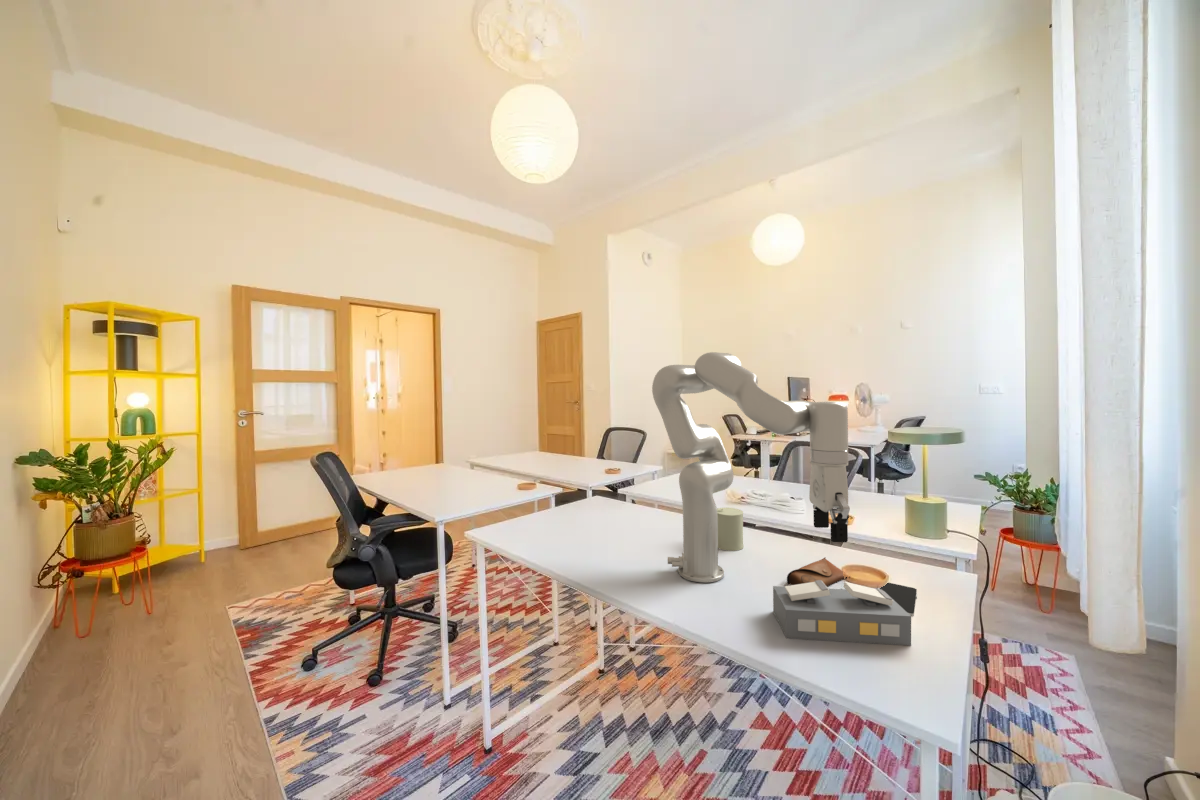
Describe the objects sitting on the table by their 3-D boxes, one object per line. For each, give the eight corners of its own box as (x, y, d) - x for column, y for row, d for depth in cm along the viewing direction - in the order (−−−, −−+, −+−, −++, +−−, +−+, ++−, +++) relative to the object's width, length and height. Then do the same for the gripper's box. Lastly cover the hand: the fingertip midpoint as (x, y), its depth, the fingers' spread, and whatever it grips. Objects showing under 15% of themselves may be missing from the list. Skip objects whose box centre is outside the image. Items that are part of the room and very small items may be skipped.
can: (713, 540, 151) (712, 505, 151) (740, 541, 150) (740, 506, 150) (716, 550, 142) (716, 513, 142) (746, 551, 141) (745, 514, 140)
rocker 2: (851, 596, 93) (853, 589, 93) (843, 586, 98) (844, 580, 98) (891, 605, 92) (893, 599, 92) (881, 595, 97) (883, 589, 97)
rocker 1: (791, 600, 95) (790, 594, 95) (786, 591, 100) (784, 585, 100) (830, 595, 94) (828, 588, 94) (822, 585, 98) (821, 579, 98)
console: (786, 638, 92) (786, 607, 92) (773, 611, 103) (773, 583, 103) (911, 646, 89) (911, 613, 89) (884, 617, 100) (884, 588, 100)
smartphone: (873, 604, 105) (879, 580, 117) (873, 609, 105) (879, 585, 117) (914, 614, 100) (917, 588, 112) (914, 619, 100) (917, 593, 112)
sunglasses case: (817, 594, 111) (804, 567, 114) (794, 599, 116) (782, 573, 119) (852, 576, 121) (840, 551, 124) (830, 581, 126) (818, 557, 129)
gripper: (798, 452, 107) (799, 522, 107) (826, 464, 90) (827, 547, 90) (830, 451, 106) (831, 522, 106) (865, 464, 89) (866, 548, 89)
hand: (829, 534), depth 98 cm, fingers open, 9 cm apart
